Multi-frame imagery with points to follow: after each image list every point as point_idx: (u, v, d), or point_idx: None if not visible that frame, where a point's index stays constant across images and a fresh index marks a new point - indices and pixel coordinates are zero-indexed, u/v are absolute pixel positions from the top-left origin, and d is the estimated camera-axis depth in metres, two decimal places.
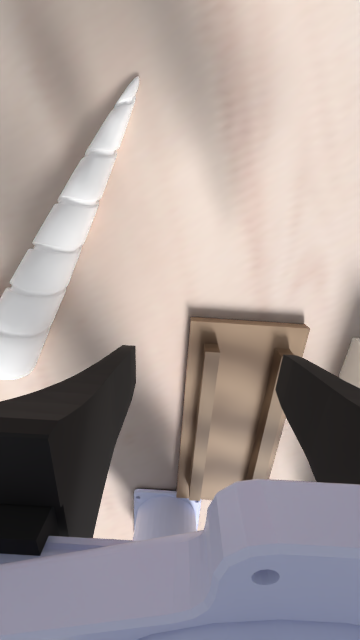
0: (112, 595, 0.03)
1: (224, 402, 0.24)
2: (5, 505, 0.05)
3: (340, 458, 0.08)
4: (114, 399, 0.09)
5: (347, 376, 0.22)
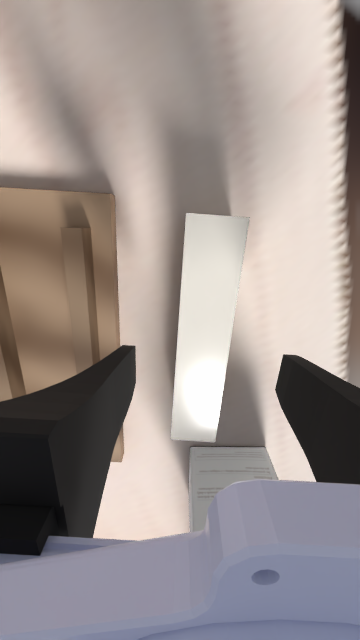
0: (112, 595, 0.03)
1: (29, 316, 0.18)
2: (5, 505, 0.05)
3: (340, 458, 0.08)
4: (114, 399, 0.09)
5: None
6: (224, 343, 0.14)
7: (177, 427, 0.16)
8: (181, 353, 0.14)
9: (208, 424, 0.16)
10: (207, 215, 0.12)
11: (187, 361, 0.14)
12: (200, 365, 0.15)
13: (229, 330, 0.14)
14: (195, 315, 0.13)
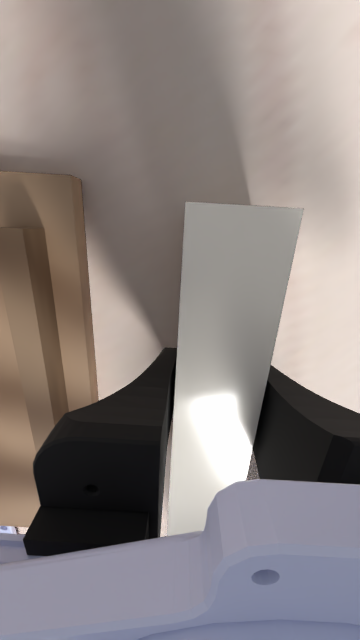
0: (112, 594, 0.03)
1: None
2: (102, 510, 0.05)
3: (275, 454, 0.08)
4: (169, 402, 0.09)
5: None
6: (250, 415, 0.09)
7: (176, 525, 0.11)
8: (180, 430, 0.09)
9: None
10: (225, 206, 0.06)
11: (190, 440, 0.09)
12: (210, 446, 0.09)
13: (259, 396, 0.08)
14: (203, 374, 0.08)
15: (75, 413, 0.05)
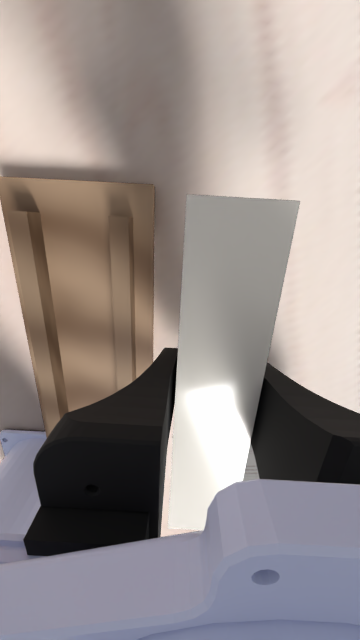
0: (112, 595, 0.03)
1: (70, 302, 0.19)
2: (103, 510, 0.05)
3: (274, 454, 0.08)
4: (169, 402, 0.09)
5: None
6: (249, 403, 0.09)
7: (177, 513, 0.11)
8: (181, 418, 0.09)
9: None
10: (224, 198, 0.07)
11: (190, 428, 0.09)
12: (211, 434, 0.09)
13: (257, 385, 0.09)
14: (203, 362, 0.08)
15: (75, 413, 0.05)
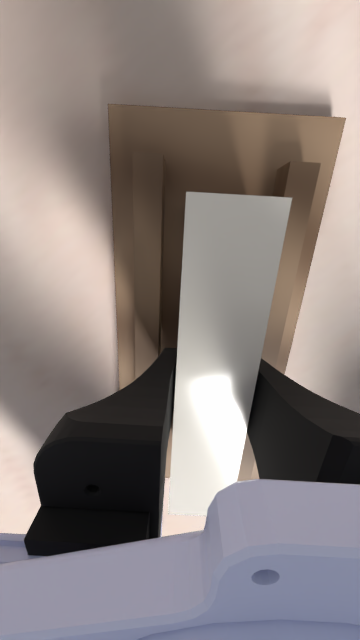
0: (112, 595, 0.03)
1: None
2: (103, 510, 0.05)
3: (274, 454, 0.08)
4: (169, 402, 0.09)
5: None
6: (245, 391, 0.09)
7: (177, 499, 0.12)
8: (181, 405, 0.10)
9: None
10: (221, 195, 0.07)
11: (190, 416, 0.10)
12: (209, 421, 0.10)
13: (253, 373, 0.09)
14: (202, 351, 0.09)
15: (75, 413, 0.05)
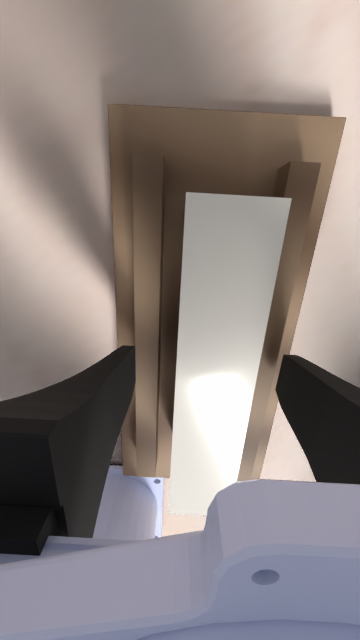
0: (112, 595, 0.03)
1: None
2: (5, 505, 0.05)
3: (340, 458, 0.08)
4: (114, 399, 0.09)
5: None
6: (245, 391, 0.09)
7: (177, 499, 0.12)
8: (181, 405, 0.10)
9: None
10: (221, 196, 0.07)
11: (190, 416, 0.10)
12: (209, 421, 0.10)
13: (253, 373, 0.09)
14: (202, 351, 0.09)
15: None
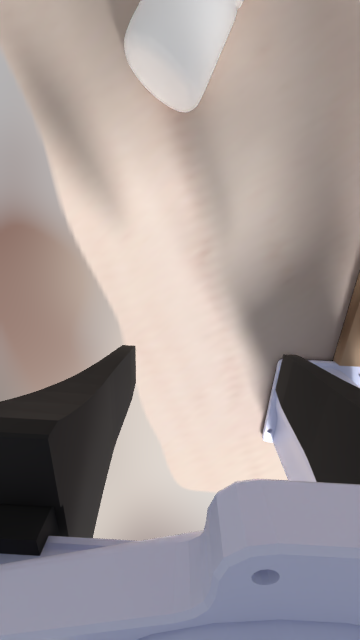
0: (112, 595, 0.03)
1: None
2: (5, 505, 0.05)
3: (340, 458, 0.08)
4: (114, 399, 0.09)
5: None
6: None
7: None
8: None
9: None
10: None
11: None
12: None
13: None
14: None
15: None
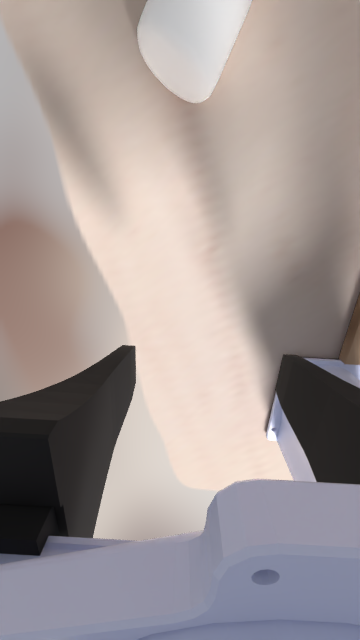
0: (112, 595, 0.03)
1: None
2: (5, 505, 0.05)
3: (340, 458, 0.08)
4: (114, 399, 0.09)
5: None
6: None
7: None
8: None
9: None
10: None
11: None
12: None
13: None
14: None
15: None
